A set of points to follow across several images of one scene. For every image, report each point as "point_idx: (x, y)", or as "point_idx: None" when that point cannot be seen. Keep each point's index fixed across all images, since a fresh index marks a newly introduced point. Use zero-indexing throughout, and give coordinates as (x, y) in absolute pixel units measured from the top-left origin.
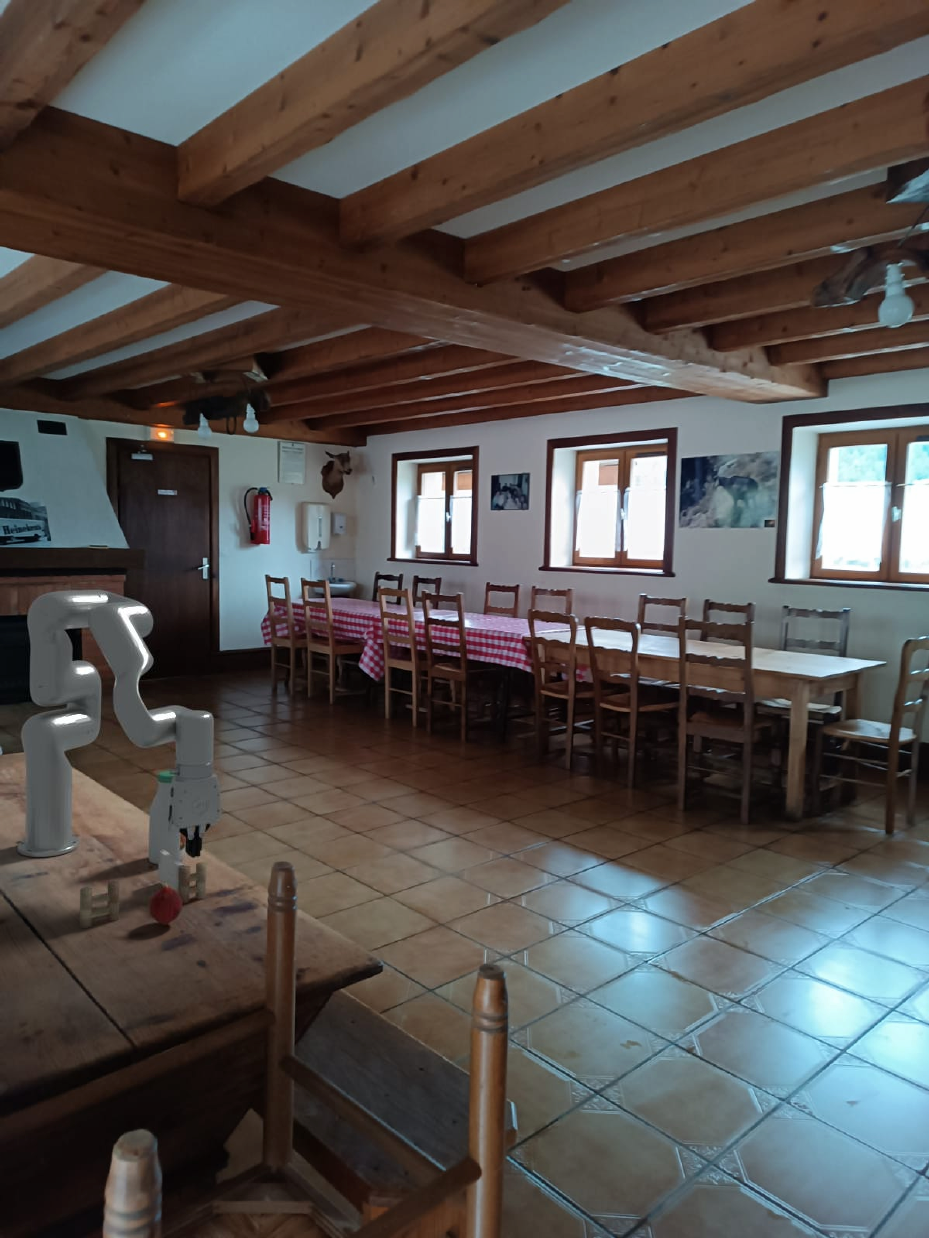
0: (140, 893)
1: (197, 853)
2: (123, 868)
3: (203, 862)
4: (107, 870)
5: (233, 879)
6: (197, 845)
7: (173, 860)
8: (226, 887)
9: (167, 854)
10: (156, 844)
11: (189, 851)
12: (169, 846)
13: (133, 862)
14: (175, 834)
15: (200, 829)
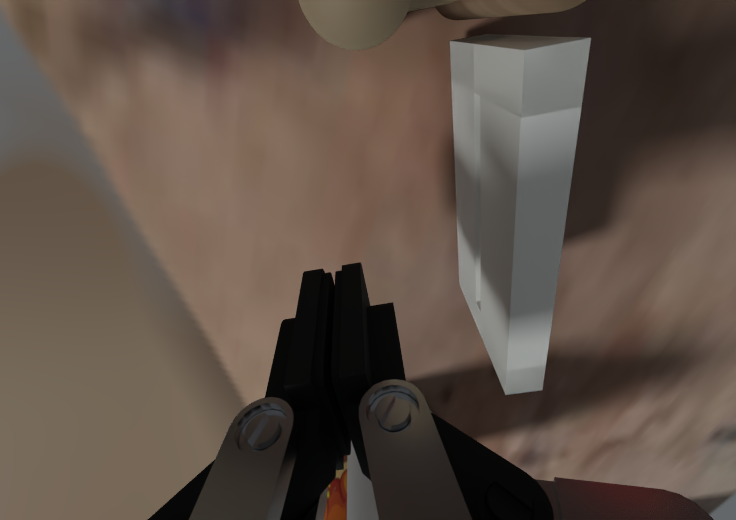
0: (592, 195)
1: (324, 283)
2: (526, 407)
3: (321, 27)
4: (574, 408)
5: (145, 184)
6: (322, 328)
7: (555, 203)
8: (185, 92)
9: (530, 325)
10: None
11: (385, 307)
12: None
13: (480, 433)
14: (372, 517)
15: (266, 497)
